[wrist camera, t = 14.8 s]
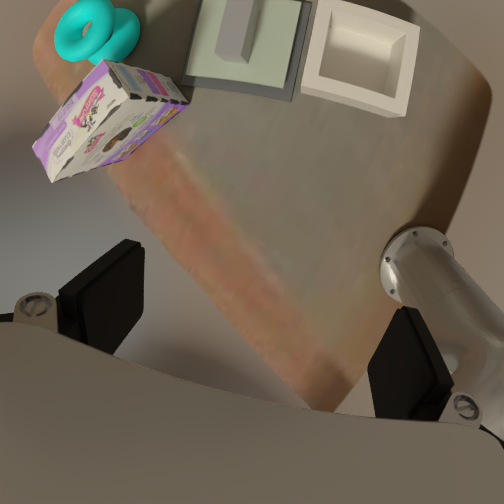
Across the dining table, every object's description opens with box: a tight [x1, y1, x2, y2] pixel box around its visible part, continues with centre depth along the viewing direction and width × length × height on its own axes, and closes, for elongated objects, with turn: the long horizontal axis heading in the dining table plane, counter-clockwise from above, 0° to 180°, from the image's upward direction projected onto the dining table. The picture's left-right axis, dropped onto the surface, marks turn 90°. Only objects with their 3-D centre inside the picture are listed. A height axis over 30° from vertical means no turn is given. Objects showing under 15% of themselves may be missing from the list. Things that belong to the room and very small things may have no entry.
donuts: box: [55, 0, 140, 65], centre depth 30 cm, size 10×10×10 cm
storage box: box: [301, 0, 420, 118], centre depth 30 cm, size 12×12×7 cm
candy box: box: [32, 59, 190, 183], centre depth 32 cm, size 14×6×16 cm, turn 124°
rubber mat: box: [181, 0, 311, 102], centre depth 33 cm, size 15×15×1 cm
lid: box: [186, 0, 301, 89], centre depth 30 cm, size 13×13×7 cm
